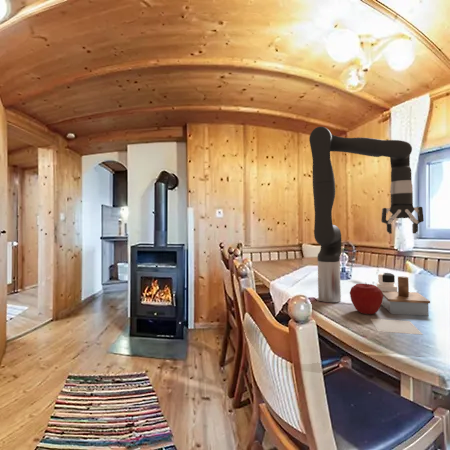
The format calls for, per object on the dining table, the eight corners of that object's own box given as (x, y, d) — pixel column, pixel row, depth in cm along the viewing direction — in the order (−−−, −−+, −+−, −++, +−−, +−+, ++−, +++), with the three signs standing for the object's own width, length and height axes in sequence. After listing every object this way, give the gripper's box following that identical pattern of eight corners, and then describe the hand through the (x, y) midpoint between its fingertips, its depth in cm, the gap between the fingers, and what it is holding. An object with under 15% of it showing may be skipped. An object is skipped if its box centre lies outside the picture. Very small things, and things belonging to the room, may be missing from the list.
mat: (377, 333, 89) (377, 331, 89) (370, 320, 101) (370, 318, 101) (422, 336, 86) (422, 334, 86) (409, 322, 97) (409, 321, 97)
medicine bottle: (395, 300, 125) (395, 272, 125) (397, 304, 119) (396, 275, 119) (376, 298, 128) (376, 271, 128) (377, 303, 122) (377, 274, 122)
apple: (344, 312, 111) (343, 281, 111) (364, 308, 115) (363, 278, 115) (368, 320, 101) (367, 286, 100) (390, 316, 105) (389, 283, 105)
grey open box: (390, 314, 106) (390, 301, 106) (382, 305, 117) (382, 293, 117) (428, 317, 102) (428, 302, 102) (416, 307, 114) (416, 294, 114)
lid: (388, 301, 106) (388, 279, 106) (380, 293, 118) (380, 273, 118) (430, 303, 102) (429, 281, 102) (417, 294, 114) (416, 274, 114)
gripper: (383, 193, 115) (384, 234, 115) (425, 190, 110) (426, 233, 111) (379, 194, 122) (380, 233, 122) (418, 192, 118) (419, 232, 118)
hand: (402, 233), depth 116 cm, fingers open, 8 cm apart
